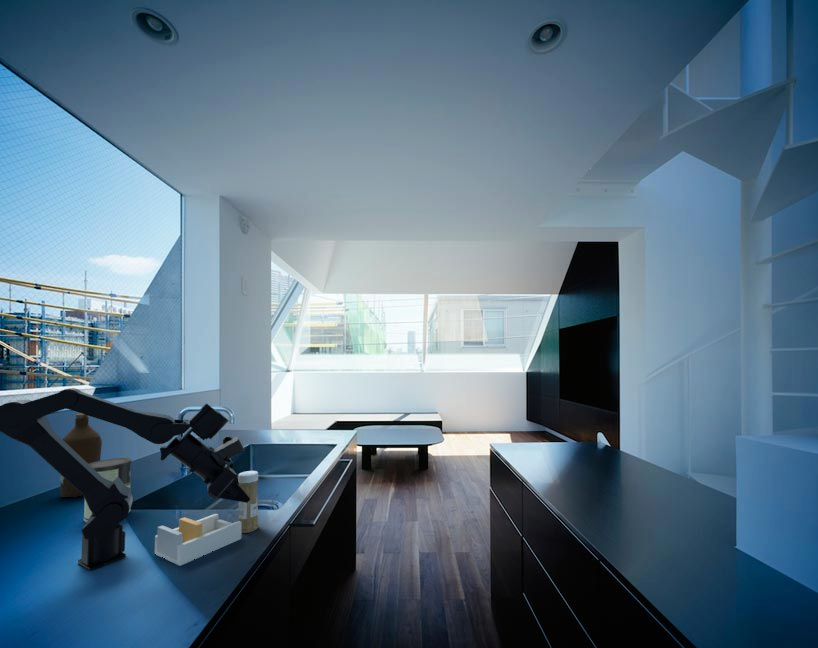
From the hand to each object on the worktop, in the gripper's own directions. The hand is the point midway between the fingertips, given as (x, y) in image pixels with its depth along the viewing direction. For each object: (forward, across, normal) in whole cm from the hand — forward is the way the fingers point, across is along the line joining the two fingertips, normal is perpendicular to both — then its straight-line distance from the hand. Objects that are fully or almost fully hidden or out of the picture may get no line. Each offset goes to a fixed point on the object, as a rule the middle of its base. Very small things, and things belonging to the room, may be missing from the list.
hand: (246, 495), depth 100 cm
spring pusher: (-4, -5, +13) cm, 15 cm away
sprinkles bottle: (+6, 0, +6) cm, 8 cm away
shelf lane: (-2, -4, +13) cm, 14 cm away
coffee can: (-17, +30, +29) cm, 45 cm away
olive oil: (-26, +59, +37) cm, 74 cm away
